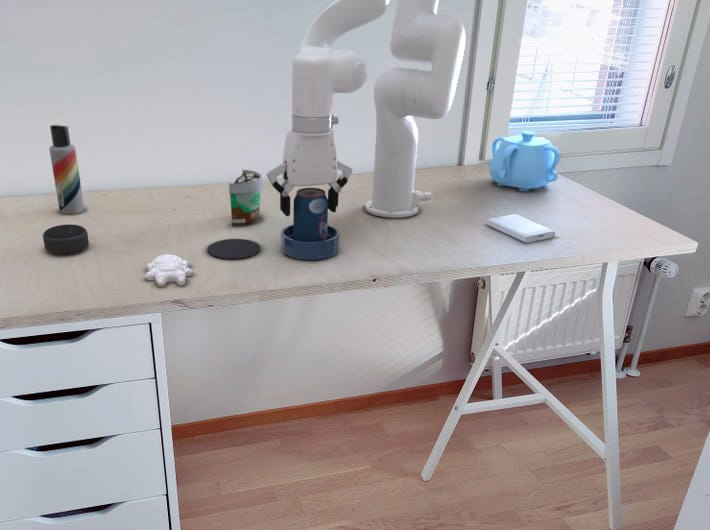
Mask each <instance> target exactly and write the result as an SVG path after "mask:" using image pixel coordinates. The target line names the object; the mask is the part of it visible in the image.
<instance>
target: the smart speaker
mask: <svg viewBox="0 0 710 530" xmlns="http://www.w3.org/2000/svg"><path fill="white" fill-rule="evenodd" d="M88 233H89V232H88V230H87V229H86V228H85V227H83V226H82V225H79V224H71V223H70V224H58V225H54V226H51V227H49V228H47V229H46V230H45V231H44V232H43V233H42V240H43V245H44V246H43V247H44V249H45V250H46V251H47V252H48V253H50V254H53V255H59V256H65V255H66V256H68V255H75V254H78V253H80V252H82V251H85V250H86V249H87V248H88V247H89V244H90V241H89V234H88Z"/></svg>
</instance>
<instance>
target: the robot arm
mask: <svg viewBox="0 0 710 530" xmlns="http://www.w3.org/2000/svg"><path fill="white" fill-rule="evenodd" d="M390 1H391V0H333V1H332V2H331V3H330V4H328V6H327V7H326V8H324V10H322V11H321V12H320V13H319V14H318V15H317V16H316V17H315V18H314V19H313V20H312V22H310V25H309V26H308V28H307V30H306V31H305V34H304V37H303V38H302V41H301V44H300V46H299V48H298V51H297V53H296V55H295V56H294V58H293V61H292V74H291V75H292V76H291V77H292V79H291V81H292V83H291V84H292V85H291V86H292V87H291V130H287V132H286V136H285V140H284V150H283V157H282V163H281V164H279V165H278V166H276V167H275V168H273V169H270V170H269V171H267V173H266V176H267V178H268V181H269V183H270V184H271V186H272V187H273V188H274V189H275V191H277V192H278V193H279V210H280V211H281V212H282V214H283V215H284V216H285V217H290V216H291V196H290V195H289V194H290V192H291V191H292V190H293V189H294V188H295V187H309V186H310V187H311V186H321V185H323V186H324V185H328V186H329V187H330V188H328V190H327V199H328V211H330V212H332V213H336V212H337V207H339V197H340V196H339V193H341V191H342V189H343V188H344V186H345V185H347V183H348V181H349V179H350V177H351V175H352V174H353V168H352V167H350V166H349V165H346V164H344V163H343V162H340V161H338V154H337V141H336V135H335V131H334V130H333V126H335V125H338V124H339V117H338V116H334V115H333V96H334V94H351V93H355V92H357V91H358V90H360V89H361V88H362V87H363V86H364V84H365V83H366V81H367V79H368V75H369V65H368V61H367V60H366V59H365V57H364V56H363V55H362V54H360V53H359V52H357V51H355V50H349V49H339V48H333V47H332V48H331V46H332V45H333V44H334V43H335V41H336V40H337V39H339V38H340V37H341V36H343V35H344V34H346V33H348V32H350V31H352V30H355V29H357V28H359V27H362V26H365V25H367V24H370V23H371V22H373V21H376V20H378V19H379V18H381V17H382V16H383V15H384V14H385V13H386V11H387V10H388V7H389V5H390V4H389V3H390ZM438 5H439V0H397V4H396V8H395V13H394V19H393V25H392V30H391V36H390V42H389V43H390V44H389V45H390V46H389V47H390V53H391V55H392V57H393V58H395V59H396V60H399V61H401V62H407V63H414V64H415V63H417V64H425V65H431V70H424V69H416V68H407V67H390V68H387V69H385V70H382V72H381V73H380V74H378V76H377V77H376V80H375V82H374V87H373V99H374V107H375V116H376V117H375V119H376V121H375V125H376V126H375V127H376V128H375V144H374V145H375V146H374V159H373V160H374V161H373V177H372V178H373V179H372V193H371V194H372V196H371V199H369V200H368V201H366V202H365V204H364V209H365V211H366V212H367V213H369V214H370V215H373V216H377V217H380V218H388V219H389V218H390V219H391V218H392V219H399V218H400V219H401V218H408V217H412V216H414V215H416V214H417V213H418V212H419V205H418V203H420V202H427V201H432V198H433V195H432V192H430V191H427V192H422V190H415V189H414V188H415V176H416V165H417V154H418V145H419V131H418V127H417V124H416V122H415V120H414V118H413V117H415V118H421V119H429V120H439V119H442V118H444V117H446V115H447V114H448V113H449V112H450V109H451V107H452V104H453V100H454V97H455V93H456V89H457V85H458V84H457V83H458V79H459V75H460V70H461V65H462V61H463V56H464V51H465V46H466V31H465V27H464V24H463V22H462V21H461V19H459V18H457V17H455V16H452V15H446V14H444V15H443V14H437V10H438ZM338 170H340V171H341V172H342V173H341V176H339V177H338ZM280 175H282V179H283V180H284V181H283V182H282V183H281V184H280V183H279V181H278V179H277V178H278V177H279V176H280ZM337 177H338V178H337Z"/></svg>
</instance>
